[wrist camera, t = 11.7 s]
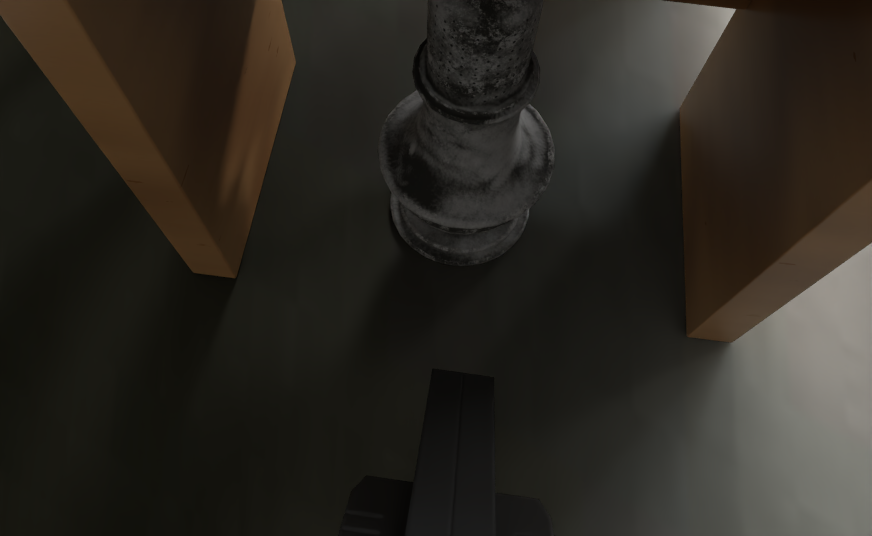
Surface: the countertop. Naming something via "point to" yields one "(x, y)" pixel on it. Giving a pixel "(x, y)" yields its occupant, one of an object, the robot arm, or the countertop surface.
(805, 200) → the desk
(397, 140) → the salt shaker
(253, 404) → the countertop surface
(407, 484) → the robot arm
